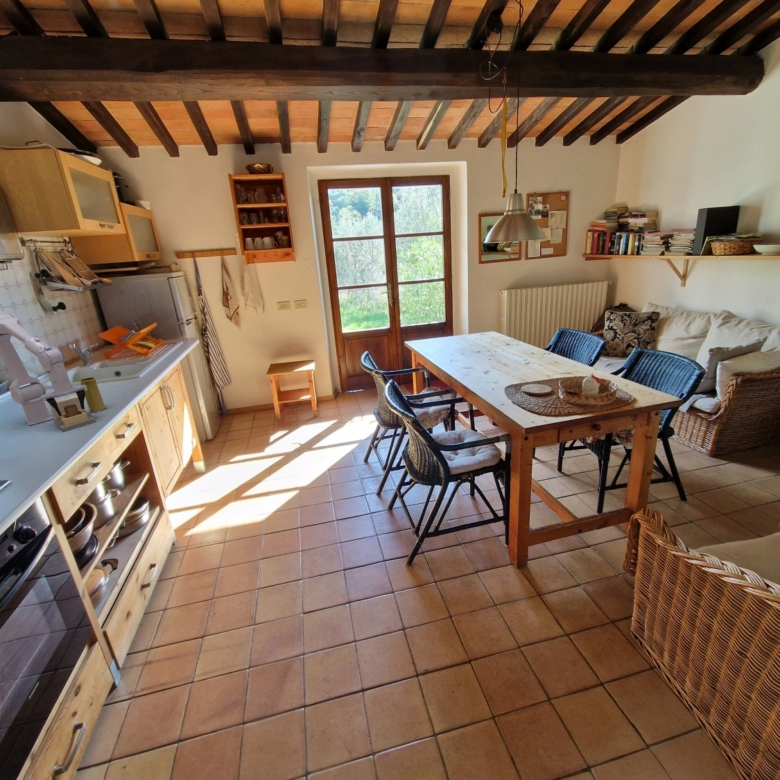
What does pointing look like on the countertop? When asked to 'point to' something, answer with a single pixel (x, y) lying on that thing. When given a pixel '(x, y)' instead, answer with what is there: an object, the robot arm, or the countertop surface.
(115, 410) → the countertop surface
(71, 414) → the peg
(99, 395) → the vase
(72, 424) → the socket stand
